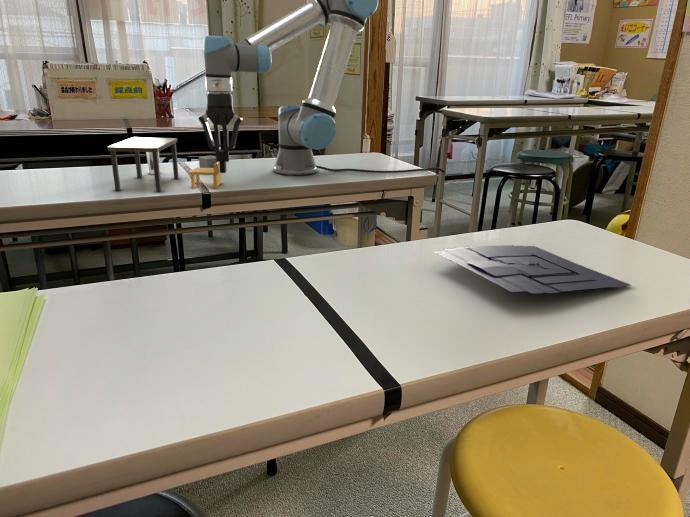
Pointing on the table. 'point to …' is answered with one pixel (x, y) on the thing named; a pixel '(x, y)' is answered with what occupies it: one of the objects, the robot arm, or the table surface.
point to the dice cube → (207, 161)
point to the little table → (139, 146)
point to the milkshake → (150, 161)
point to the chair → (207, 171)
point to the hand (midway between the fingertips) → (223, 172)
